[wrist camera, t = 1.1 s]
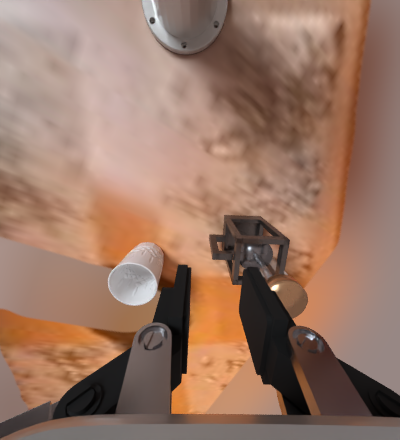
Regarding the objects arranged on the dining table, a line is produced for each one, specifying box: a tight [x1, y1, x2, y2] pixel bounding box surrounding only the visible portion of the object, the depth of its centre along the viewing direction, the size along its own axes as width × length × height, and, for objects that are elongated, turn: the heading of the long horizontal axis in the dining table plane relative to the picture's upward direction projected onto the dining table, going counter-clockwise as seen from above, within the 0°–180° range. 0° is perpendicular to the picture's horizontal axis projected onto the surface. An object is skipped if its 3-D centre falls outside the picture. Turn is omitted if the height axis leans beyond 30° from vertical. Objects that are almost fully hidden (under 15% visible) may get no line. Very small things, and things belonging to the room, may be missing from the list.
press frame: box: [209, 215, 290, 285], centre depth 33 cm, size 7×10×13 cm
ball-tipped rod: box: [240, 243, 308, 318], centre depth 24 cm, size 5×5×11 cm
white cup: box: [108, 242, 164, 305], centre depth 35 cm, size 8×8×10 cm
